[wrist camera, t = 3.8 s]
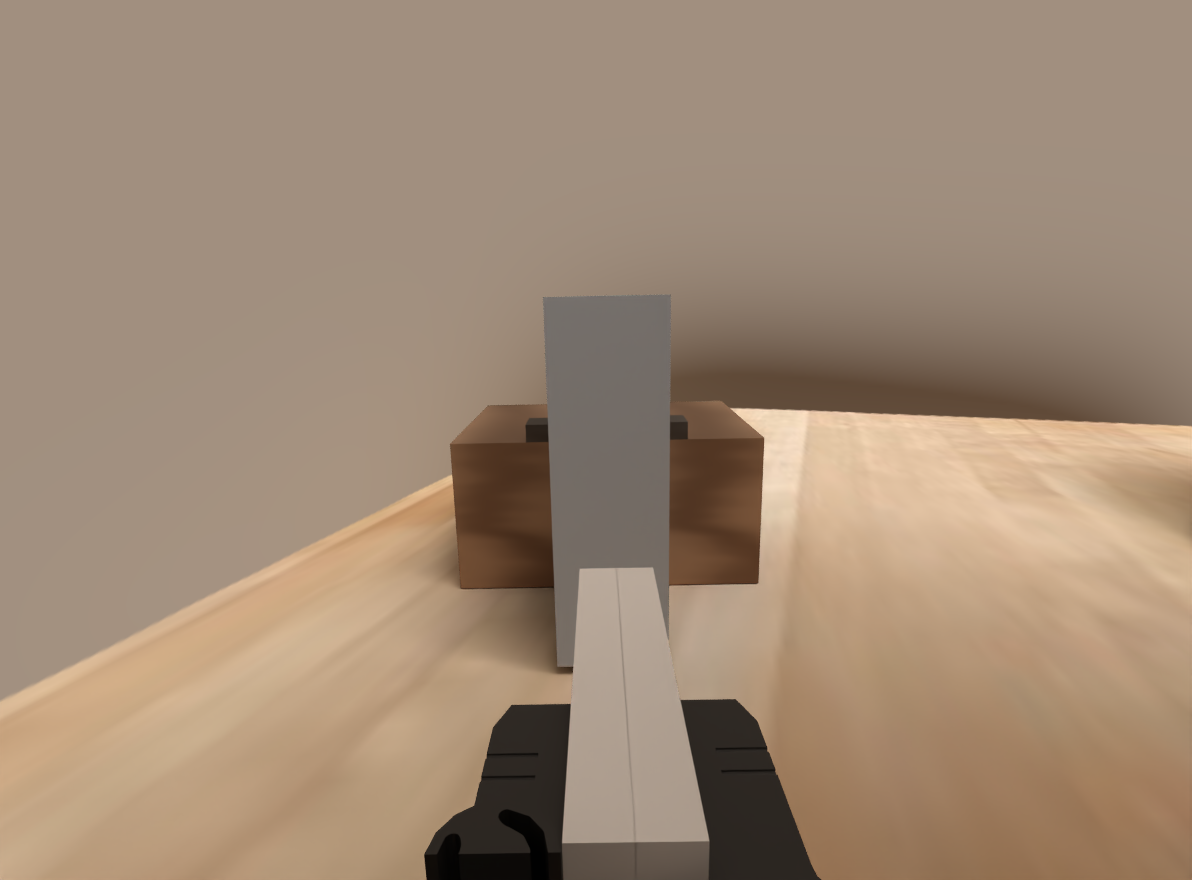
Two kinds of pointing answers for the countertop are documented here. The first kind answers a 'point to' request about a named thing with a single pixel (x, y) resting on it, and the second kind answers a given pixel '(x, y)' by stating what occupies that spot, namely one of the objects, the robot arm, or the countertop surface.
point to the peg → (607, 443)
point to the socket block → (523, 497)
